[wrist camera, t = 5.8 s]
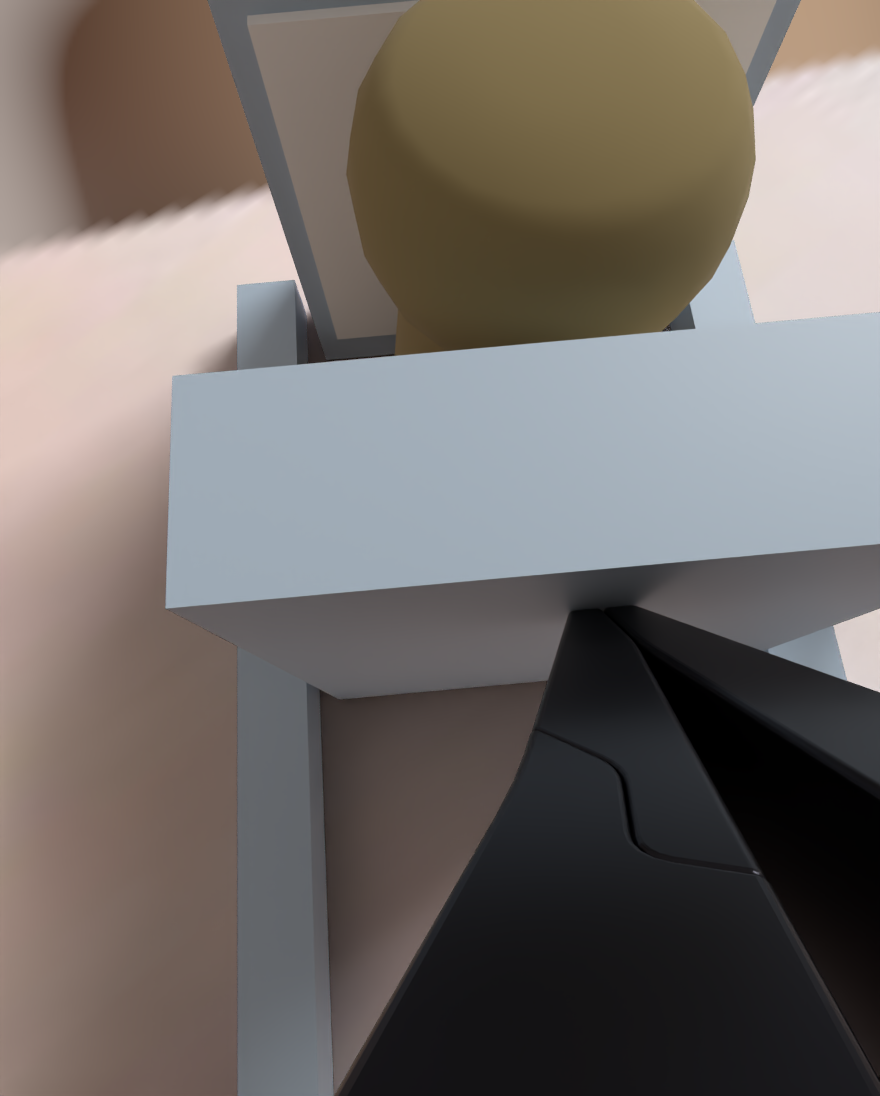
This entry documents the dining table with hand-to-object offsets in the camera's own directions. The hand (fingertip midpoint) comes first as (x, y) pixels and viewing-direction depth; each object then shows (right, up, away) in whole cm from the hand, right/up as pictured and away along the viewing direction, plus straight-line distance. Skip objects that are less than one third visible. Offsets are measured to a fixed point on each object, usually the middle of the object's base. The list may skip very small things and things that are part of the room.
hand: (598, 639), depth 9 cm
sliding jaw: (0, -1, +8) cm, 8 cm away
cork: (0, +3, +10) cm, 10 cm away
